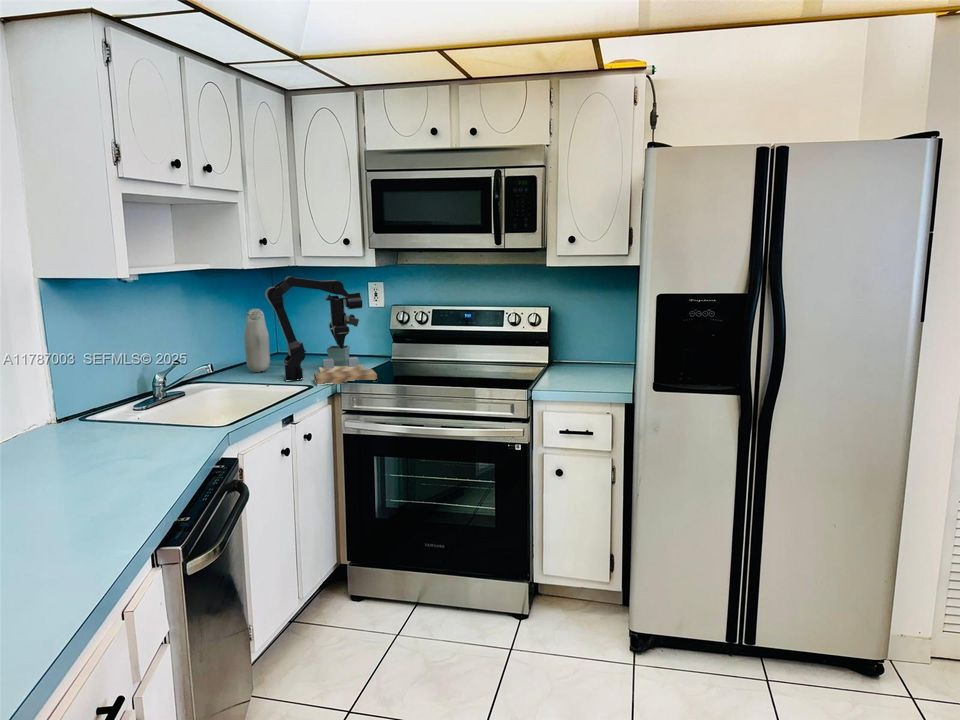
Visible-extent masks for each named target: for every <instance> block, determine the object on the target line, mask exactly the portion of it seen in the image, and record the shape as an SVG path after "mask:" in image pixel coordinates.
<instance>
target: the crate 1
mask: <svg viewBox="0 0 960 720" xmlns="http://www.w3.org/2000/svg"><path fill="white" fill-rule="evenodd" d="M322 361H323V365H322V367H324V369H333V368H334V360H333V359H328V358H324V359H323V360H322Z"/></svg>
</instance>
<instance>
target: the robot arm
mask: <svg viewBox="0 0 960 720" xmlns="http://www.w3.org/2000/svg"><path fill="white" fill-rule="evenodd" d="M292 287H296V288H303V289H310V290H319V291H323V292H326V293H328V294H327V296H326V297H325V298H324V301H327V302H328V301H329V309H330V312H329V316H330V317H331V319H330V320H331V321H330V322H329V323H328V328H329V331H330V334H331V335H332V337H333V339H334V341H335V343H336V346H340V349H343V347H344V345H345V340H346V336H347V335H349V333H350V327H349V326H348V325H350V326H353V327H357V328H358V325H359V322H360V319H359V318H357V317H355V315H354V314H349V315H347V313H346V312H345V308H347V310H357V309H363V299H362V296H361V292H358V291H357V292H352V293H348V291H347V290H346V289H345V288H344V284H343V283H342V281H340V280H336V279H331V280H327V279H326V280H318V279H317V280H315V279H309V278H301V277H294V276H291V275H289V276H286V277H285V278H284V279H283V280H281V281H280V282H278V283H277V284H275V285H274V286H270V287H268V288H267V289H266V290H265V292H264V296H265V298H266V299H267V301H268V303H269V304H270V306H271V307H272V308H273V310H274V313H275V315H276V317H277V318H276V319H277V320H278V323H279V326H280V328H281V330H282V333H283V335H284V339H285V341H286V346H287V353H288V354H287V355H286V356H285V357H284V358H283V362H284V364H285V365H284V380H285V379H286V380H297V379H301V378H302V379H303V378H304V375H303V374H304V371H303V368H302V365H301V364H302V362H303V361H304V360H305V359H306V358H305V357H306V353H307V350H305V348H304V343H303V342H302V341H301V340H299V341H298V340H297V338H296V335H295V333H294V330H293V327H292V324H291V321H290V319H289V316H288V315H287V312H286V310H285V309H286V308H285V303H284V298H283V297H284V296H283V295H284V294H286V293H287V292H288V291H289V290H291V288H292ZM331 294H332V295H331ZM339 296H340V297H339Z"/></svg>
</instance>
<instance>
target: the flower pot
mask: <svg viewBox="0 0 960 720" xmlns="http://www.w3.org/2000/svg"><path fill="white" fill-rule="evenodd" d="M350 349H351V347H350V345H349V344H347V345H345V344H344V347H343V349H340V346H338V345H330V346H329V347H327V348H326V353H327V359H333V360H334V366H346V365H348V361H347V358H350V351H351V350H350Z"/></svg>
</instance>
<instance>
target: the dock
mask: <svg viewBox="0 0 960 720" xmlns="http://www.w3.org/2000/svg"><path fill="white" fill-rule="evenodd" d="M313 379H314V380H315V381H316V383H317V384H325V383H333V384H334V386H335V385H343V384H342V383H343V382H347V381H355V380H376V379H377V380H378V374H377V373H376V371H374V370H373V369H372V368H371V369H363V370H354V371H341V372H327V373H319V372H316V373H313ZM315 381H314V382H315ZM316 383H315V384H316Z"/></svg>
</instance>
